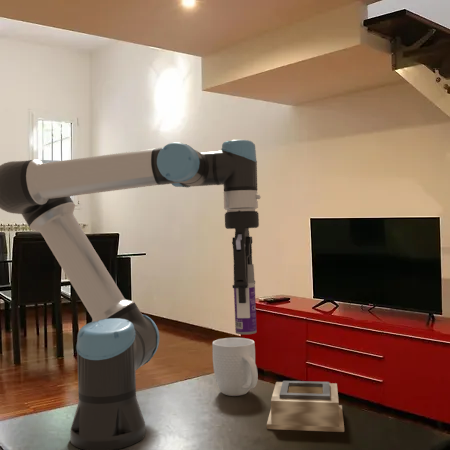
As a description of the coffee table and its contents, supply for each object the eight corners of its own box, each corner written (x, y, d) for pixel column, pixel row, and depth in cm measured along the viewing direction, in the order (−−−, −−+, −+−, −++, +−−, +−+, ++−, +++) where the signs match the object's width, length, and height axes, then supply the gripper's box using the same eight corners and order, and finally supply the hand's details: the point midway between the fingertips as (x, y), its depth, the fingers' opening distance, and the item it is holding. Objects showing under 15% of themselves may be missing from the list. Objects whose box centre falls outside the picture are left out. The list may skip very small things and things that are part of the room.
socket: (266, 428, 117) (266, 396, 117) (272, 407, 131) (271, 378, 131) (344, 432, 114) (343, 399, 114) (341, 409, 128) (341, 380, 128)
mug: (274, 397, 139) (272, 344, 139) (237, 405, 133) (236, 351, 133) (239, 383, 151) (238, 335, 151) (205, 391, 145) (204, 341, 145)
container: (257, 334, 121) (254, 265, 121) (235, 334, 121) (232, 265, 121) (256, 330, 125) (253, 263, 126) (235, 330, 126) (233, 264, 126)
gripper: (253, 209, 114) (257, 322, 114) (262, 210, 131) (266, 309, 131) (217, 210, 115) (221, 323, 115) (231, 212, 133) (235, 309, 133)
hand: (245, 315), depth 123 cm, fingers closed on container, 5 cm apart
